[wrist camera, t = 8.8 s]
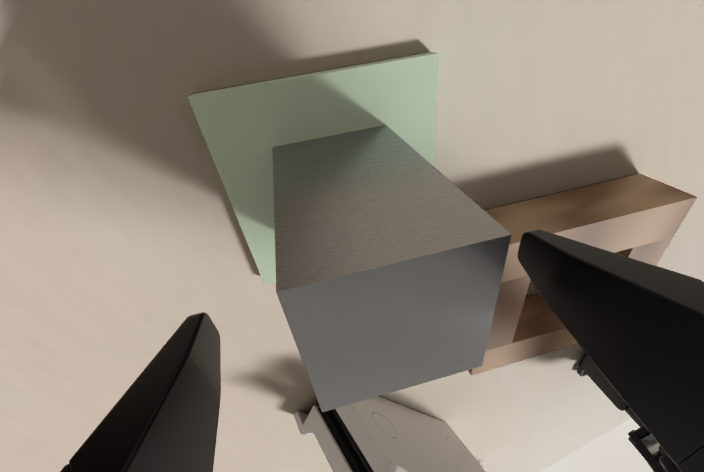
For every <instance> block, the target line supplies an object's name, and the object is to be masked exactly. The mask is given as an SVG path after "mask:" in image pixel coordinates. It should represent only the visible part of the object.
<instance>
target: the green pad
mask: <svg viewBox="0 0 704 472" xmlns="http://www.w3.org/2000/svg"><path fill="white" fill-rule="evenodd" d="M437 69H438V53H434V52H428V53H423V54H417V55H411V56H406V57H400V58H394V59H389V60H383V61H377V62H372V63H366V64H360V65H355V66H349V67H343V68H338V69H332V70H326V71H321V72H315V73H309V74H304V75H298V76H292V77H287V78H281V79H275V80H270V81H264V82H258V83H253V84H247V85H241V86H236V87H230V88H224V89H219V90H213V91H207V92H202V93H196V94H191V95H190V96H189V97H188V100H189V103H190V105H191V108H192V110H193V113H194V115H195V117H196V120H197V122H198V125H199V127H200V130H201V132H202V134H203V137H204V139H205V142H206V144H207V147H208V149H209V151H210V154H211V156H212V159H213V161H214V164H215V166H216V168H217V171H218V173H219V176H220V178H221V181H222V183H223V185H224V188H225V190H226V193H227V195H228V198H229V200H230V202H231V205H232V207H233V210H234V212H235V215H236V217H237V219H238V222H239V224H240V227H241V229H242V232H243V234H244V236H245V239H246V241H247V244H248V246H249V249H250V251H251V253H252V256H253V258H254V261H255V263H256V266H257V268H258V270H259V273H260V275H261V278H262V280H263V283H264V285H265V286H267V285H271V284H275V283H276V260H275V226H274V191H273V157H272V147H275V146H280V145H286V144H291V143H296V142H301V141H306V140H311V139H316V138H322V137H327V136H332V135H337V134H342V133H347V132H352V131H357V130H363V129H368V128H373V127H378V126H383V125H387V126H388V127H389V128H390V129H391V130H393V131H394V132H395V133H396V134H397V135H398V136H399V137H401V138H402V139H403V140H404V141H405V142H406V143H407V144H409V145H410V146H411V147H412V148H413V149H414V150H415V151H417V152H418V153H419V154H420V155H421V156H422V157H423V158H425V159H426V160H427V161H428V162H429V163H430V164H432V165H433V166H434V161H435V131H436V100H437Z"/></svg>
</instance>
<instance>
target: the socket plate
mask: <svg viewBox="0 0 704 472" xmlns="http://www.w3.org/2000/svg"><path fill="white" fill-rule="evenodd" d="M696 199H697V197H696V196H693V195H691V194H688V193H686V192H684V191H681V190H679V189H676V188H674V187H671V186H669V185H666V184H664V183H661V182H659V181H657V180H654V179H652V178H649V177H647V176H644V175H642V174H636V175H632V176H627V177H623V178H619V179H615V180H610V181H606V182H602V183H598V184H594V185H589V186H585V187H581V188H577V189H573V190H568V191H564V192H560V193H556V194H551V195H547V196H543V197H539V198H535V199H530V200H526V201H522V202H518V203H514V204H509V205H505V206H501V207H497V208H492V209H488V210H484V211H485V212H486V213H488V214H489V215H490V216H491V217H492V218H493V219H494V220H496V221H497V222H498V223H499V224H500V225H501V226H502V227H504V228H505V229H506V230H507V231H508V232H509V233H510V234H512V235H511V240H510V244H509V249H508V253H507V257H506V262H505V266H504V271H503V275H502V280H501V284H500V289H499V293H498V298H497V302H496V306H495V311H494V315H493V320H492V324H491V329H490V333H489V338H488V342H487V347H486V351H485V356H484V360H483V364H482V366H480V367H477V368H473V369H470V370H468V371H469V373H470V374H471V375H474V374H478V373H481V372H485V371H488V370H491V369H495V368H498V367H501V366H505V365H508V364H512V363H515V362H518V361H522V360H525V359H529V358H532V357H535V356H539V355H542V354H545V353H549V352H552V351H556V350H559V349H562V348H566V347H569V346H573V345H576V344H578V343H577V341H576V340H575V339H574V338H573V336H572V335H571V334H570V333H569V331H568V330H567V329H566V328H565V326H564V325H563V324H562V323H561V321H560V320H559V319H558V318H557V316H556V315H555V314H554V313H553V311H552V310H551V309H550V308H549V306H548V305H547V304H546V302H545V301H544V299H543V298H542V296H541V295H540V293H539V294H535V295H532V296H528V297H526V294H527V290H528V287H529V284H530V280H531V279H530V278H529V276H528V275H527V273H526V272H525V270H524V269H523V267H522V265H521V264H520V262H519V260H518V257H517V253H518V249H519V245H520V241H521V237H522V235H523V233H524V232H527V231H531V230H535V229H540V230H543V231H547V232H550V233H553V234H556V235H559V236H562V237H566V238H569V239H572V240H575V241H578V242H581V243H585V244H588V245H591V246H594V247H597V248H601V249H604V250H607V251H610V252H613V253H616V254H620V255H623V256H626V257H629V258H632V259H635V260H639V261H642V262H645V263H648V264H651V265H654V266H656V265H657V263H658V261H659V260H660V258H661V256H662V255H663V253H664V252H665V250H666V248H667V247H668V245H669V243H670V242H671V240H672V238H673V237H674V235H675V233H676V232H677V230H678V228H679V227H680V225H681V223H682V222H683V220H684V218H685V217H686V215H687V213H688V212H689V210H690V209H691V207H692V205H693V204H694V202H695V200H696Z"/></svg>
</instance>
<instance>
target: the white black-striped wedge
mask: <svg viewBox="0 0 704 472" xmlns="http://www.w3.org/2000/svg"><path fill="white" fill-rule="evenodd" d="M294 417H295V420H296V422H297V425H298V428H299V431H300V433H301V434H303V435H307V436H312V437H316V439H317V441H318V442H319V444H320V446H321V448H322V450H323V452H324V454H325V456H326V458H327V460H328V462H329V464H330V466H331V468H332V470H333V472H486V471H485V470H484V468H483V467H482V466H481V465H480V464H479V462H478V461H477V460H476V459H475V457H474V456H473V455H472V454H471V452H470V451H469V450H468V449H467V447H466V446H465V445H464V444H463V443H462V441H461V440H460V439H459V438H458V436H457V435H456V434H455V433H454V431H453V430H452V429H451V428H450V426H449V425H448V424H447V423H446V422H444V421H441V420H439V419H436V418H433V417H431V416H428V415H426V414H423V413H420V412H418V411H415V410H413V409H410V408H407V407H405V406H402V405H400V404H397V403H394V402H392V401H389V400H387V399H384V398H381V397H379V396H377V397H374V398H370V399H367V400H363V401H360V402H356V403H353V404H349V405H346V406H343V407H339V408H336V409H332V410H329V411H325V412H322V410H321V408H320V407H318V406H313V408H312V409H311V411H310V413H309V414H305V413H302V412H298V411H297V412H296V413H295V414H294Z"/></svg>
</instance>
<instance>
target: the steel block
mask: <svg viewBox="0 0 704 472" xmlns="http://www.w3.org/2000/svg"><path fill="white" fill-rule="evenodd" d="M272 157H273V191H274V226H275V260H276V292H277V295H278V298H279V300H280V303H281V305H282V308H283V311H284V313H285V316H286V319H287V321H288V324H289V326H290V329H291V332H292V334H293V337H294V340H295V342H296V345H297V347H298V350H299V353H300V355H301V358H302V361H303V363H304V366H305V368H306V371H307V374H308V376H309V379H310V382H311V384H312V387H313V389H314V392H315V395H316V397H317V400H318V403H319V405H320V408H321V410H322V412H325V411H329V410H332V409H336V408H339V407H343V406H346V405H349V404H353V403H356V402H360V401H363V400H367V399H370V398H374V397H377V396H380V395H384V394H387V393H391V392H394V391H398V390H401V389H404V388H408V387H411V386H415V385H418V384H422V383H425V382H429V381H432V380H435V379H439V378H442V377H446V376H449V375H453V374H456V373H459V372H463V371H466V370H470V369H473V368H477V367H480V366H482V364H483V360H484V356H485V351H486V347H487V342H488V338H489V333H490V329H491V324H492V320H493V315H494V311H495V306H496V302H497V298H498V293H499V289H500V284H501V280H502V275H503V271H504V266H505V262H506V257H507V253H508V249H509V244H510V240H511V235H512V234H510V233H509V232H508V231H507V230H506V229H505V228H504V227H502V226H501V225H500V224H499V223H498V222H497V221H496V220H494V219H493V218H492V217H491V216H490V215H489V214H488V213H486V212H485V211H484V210H483V209H482V208H481V207H480V206H478V205H477V204H476V203H475V202H474V201H473V200H472V199H470V198H469V197H468V196H467V195H466V194H465V193H464V192H462V191H461V190H460V189H459V188H458V187H457V186H456V185H454V184H453V183H452V182H451V181H450V180H449V179H448V178H446V177H445V176H444V175H443V174H442V173H441V172H440V171H438V170H437V169H436V168H435V167H434V166H433V165H432V164H430V163H429V162H428V161H427V160H426V159H425V158H423V157H422V156H421V155H420V154H419V153H418V152H417V151H415V150H414V149H413V148H412V147H411V146H410V145H409V144H407V143H406V142H405V141H404V140H403V139H402V138H401V137H399V136H398V135H397V134H396V133H395V132H394V131H393V130H391V129H390V128H389V127H388V126H387V125H383V126H378V127H373V128H368V129H363V130H357V131H352V132H347V133H342V134H337V135H332V136H327V137H322V138H316V139H311V140H306V141H301V142H296V143H291V144H286V145H280V146H275V147H272Z"/></svg>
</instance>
